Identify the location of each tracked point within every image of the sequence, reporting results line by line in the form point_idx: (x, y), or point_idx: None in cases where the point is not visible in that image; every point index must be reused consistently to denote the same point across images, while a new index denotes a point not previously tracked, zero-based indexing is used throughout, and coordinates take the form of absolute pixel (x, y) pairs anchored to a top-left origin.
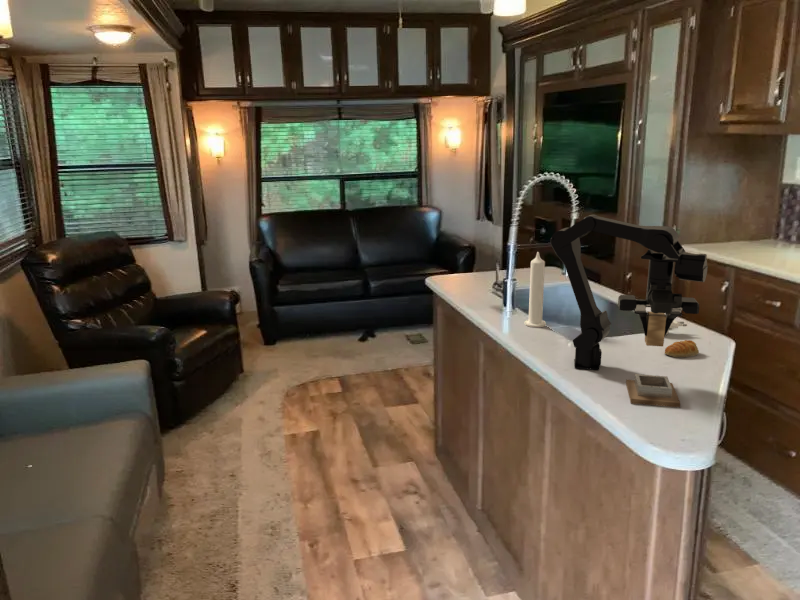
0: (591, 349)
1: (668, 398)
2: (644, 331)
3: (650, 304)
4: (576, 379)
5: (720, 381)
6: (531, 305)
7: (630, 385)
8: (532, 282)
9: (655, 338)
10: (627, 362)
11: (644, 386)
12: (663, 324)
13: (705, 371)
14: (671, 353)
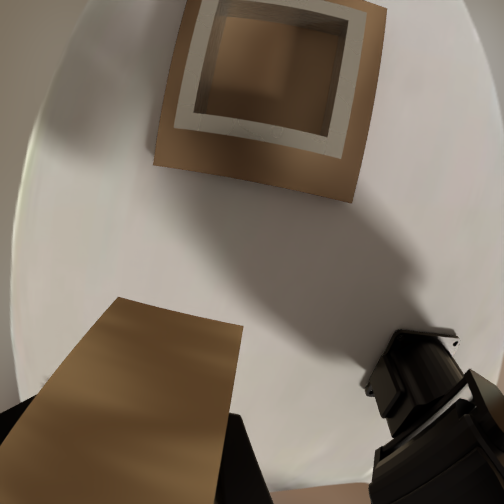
0: (468, 371)
1: None
2: (248, 446)
3: None
4: (492, 249)
5: (16, 230)
6: None
7: (356, 131)
8: None
9: (157, 355)
10: (261, 391)
11: (338, 4)
12: (22, 447)
13: (42, 305)
14: None
